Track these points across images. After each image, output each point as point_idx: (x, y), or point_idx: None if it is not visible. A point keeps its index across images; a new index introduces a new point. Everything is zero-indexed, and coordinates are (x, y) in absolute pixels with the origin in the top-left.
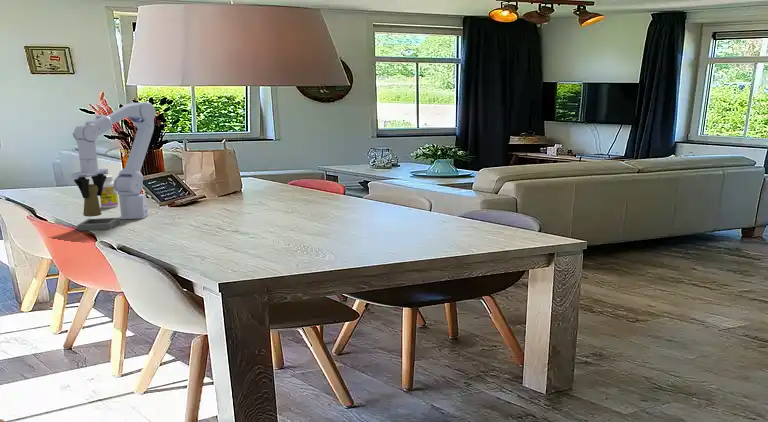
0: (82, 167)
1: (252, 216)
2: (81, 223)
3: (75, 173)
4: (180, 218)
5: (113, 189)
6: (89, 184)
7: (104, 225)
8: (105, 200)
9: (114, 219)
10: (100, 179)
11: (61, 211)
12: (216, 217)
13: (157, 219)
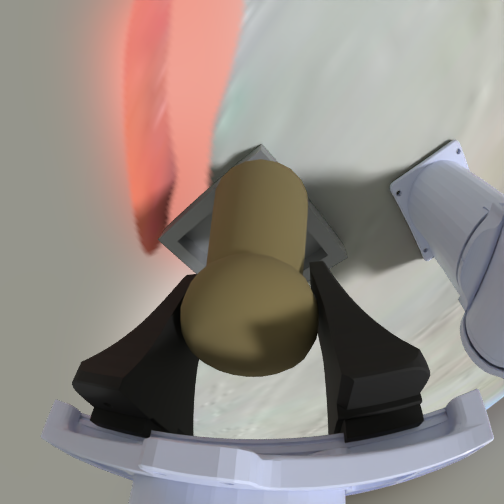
0: None
1: (441, 393)
2: (182, 224)
3: (76, 457)
4: (432, 333)
5: None
6: (243, 356)
7: None
8: None
9: (308, 273)
10: (328, 418)
11: None
12: (439, 370)
13: (419, 300)
